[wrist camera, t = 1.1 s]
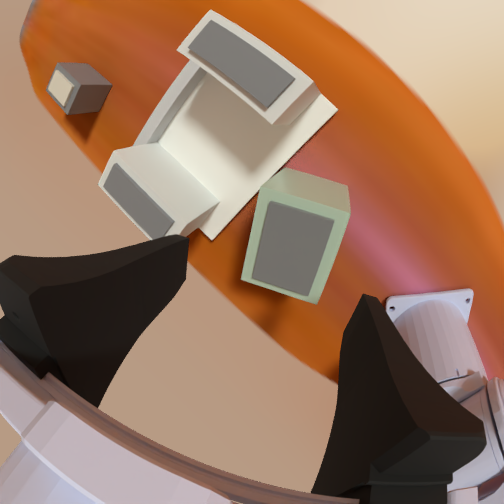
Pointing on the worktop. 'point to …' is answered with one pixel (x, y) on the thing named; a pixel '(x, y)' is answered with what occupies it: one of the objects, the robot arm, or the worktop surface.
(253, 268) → the green module
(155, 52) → the worktop surface
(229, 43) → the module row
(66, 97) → the block
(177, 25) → the worktop surface
